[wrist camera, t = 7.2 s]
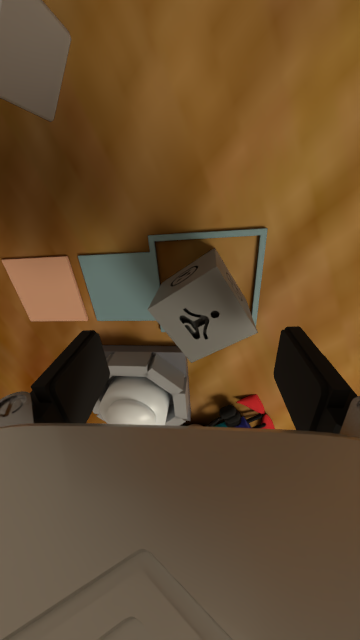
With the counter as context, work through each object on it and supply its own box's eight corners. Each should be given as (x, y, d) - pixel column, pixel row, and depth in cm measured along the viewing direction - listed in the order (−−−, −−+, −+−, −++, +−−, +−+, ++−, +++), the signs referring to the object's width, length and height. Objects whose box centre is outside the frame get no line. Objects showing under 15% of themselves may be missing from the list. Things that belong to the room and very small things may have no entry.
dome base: (186, 346, 21) (182, 367, 18) (190, 413, 26) (189, 437, 23) (89, 345, 22) (73, 364, 19) (111, 409, 27) (101, 431, 24)
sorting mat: (266, 228, 15) (267, 228, 15) (254, 330, 19) (255, 332, 19) (-4, 244, 18) (-7, 245, 17) (37, 330, 22) (35, 331, 22)
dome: (167, 370, 20) (160, 400, 17) (173, 413, 24) (167, 445, 21) (104, 368, 21) (87, 396, 18) (118, 410, 24) (105, 440, 22)
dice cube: (162, 282, 18) (147, 309, 13) (214, 247, 16) (216, 266, 12) (195, 326, 19) (191, 362, 15) (246, 299, 18) (257, 332, 13)
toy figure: (248, 377, 24) (139, 428, 27) (266, 416, 20) (134, 471, 23) (269, 413, 27) (171, 454, 30) (289, 452, 23) (172, 496, 26)
